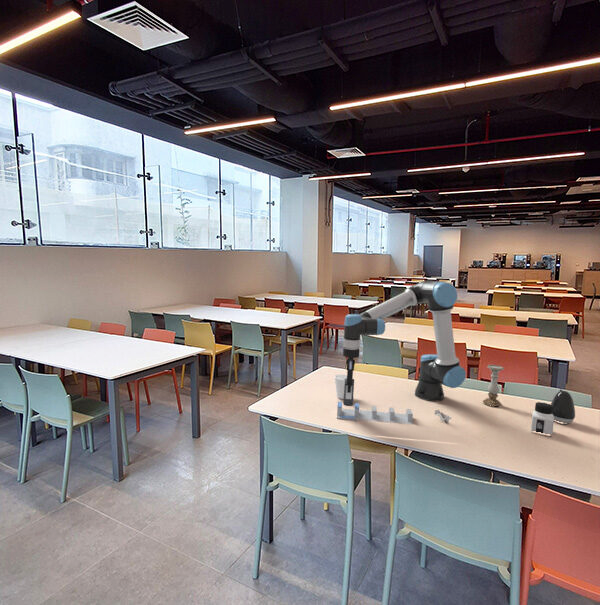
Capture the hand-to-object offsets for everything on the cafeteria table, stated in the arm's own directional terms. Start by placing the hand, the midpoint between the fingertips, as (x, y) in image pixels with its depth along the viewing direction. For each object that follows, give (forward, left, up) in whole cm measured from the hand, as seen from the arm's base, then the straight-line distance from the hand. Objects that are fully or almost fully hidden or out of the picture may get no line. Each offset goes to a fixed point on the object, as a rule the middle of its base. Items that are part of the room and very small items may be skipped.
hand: (348, 396), depth 178 cm
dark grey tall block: (0, 0, -4) cm, 4 cm away
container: (-85, 0, -9) cm, 86 cm away
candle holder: (-75, -31, -9) cm, 82 cm away
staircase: (-43, 0, -10) cm, 44 cm away
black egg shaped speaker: (-100, -14, -9) cm, 102 cm away
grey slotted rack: (-12, 0, -9) cm, 15 cm away
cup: (+3, -23, -9) cm, 25 cm away
